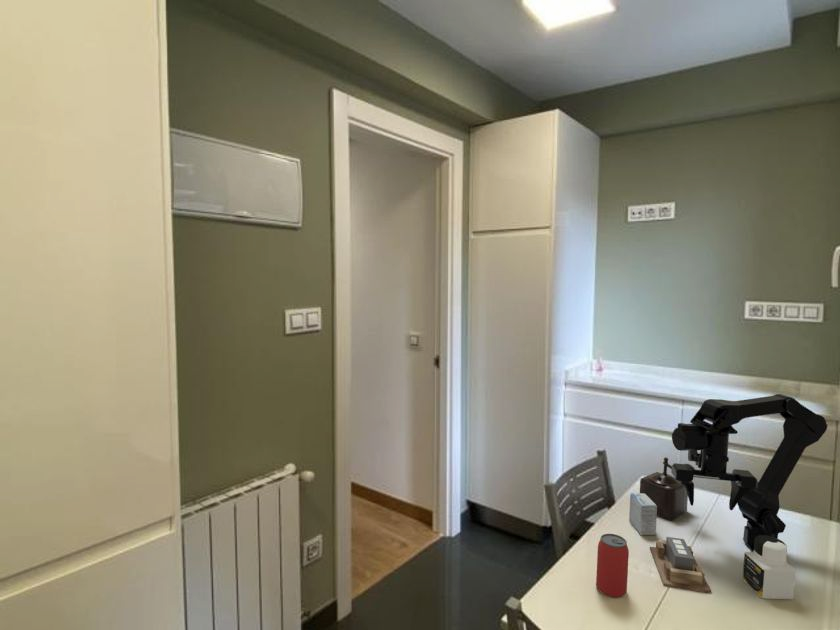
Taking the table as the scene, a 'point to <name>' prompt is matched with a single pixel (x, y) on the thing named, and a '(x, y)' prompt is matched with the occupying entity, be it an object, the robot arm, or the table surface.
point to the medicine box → (643, 513)
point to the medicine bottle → (769, 569)
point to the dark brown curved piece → (666, 493)
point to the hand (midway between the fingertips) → (710, 507)
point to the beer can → (612, 565)
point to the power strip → (679, 554)
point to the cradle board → (678, 571)
